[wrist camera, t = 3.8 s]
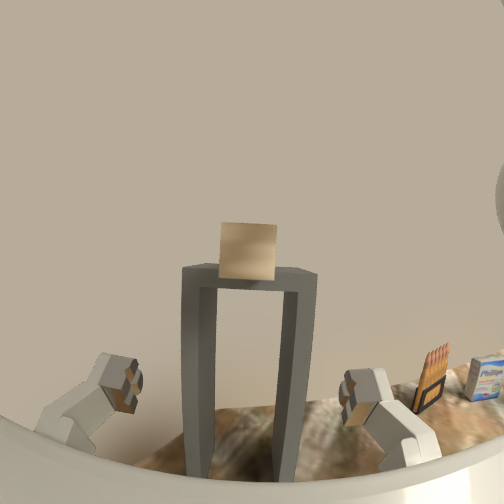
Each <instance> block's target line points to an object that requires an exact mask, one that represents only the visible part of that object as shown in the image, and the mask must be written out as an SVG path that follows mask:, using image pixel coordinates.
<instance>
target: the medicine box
mask: <svg viewBox="0 0 504 504" xmlns="http://www.w3.org/2000/svg"><path fill="white" fill-rule="evenodd" d="M503 378H504V357H502V356H500V355H494V356H485V357H475V358H472V360H471V365H470V370H469V374H468V378H467V382H466V386H465V390H464V395H465V396H466V397H467V398H468V399H469V400H470V401H471V402H475V401H480V400H486V399H491V398H496V397H498V395H499V392H500V389H501V385H502V382H503Z"/></svg>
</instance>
